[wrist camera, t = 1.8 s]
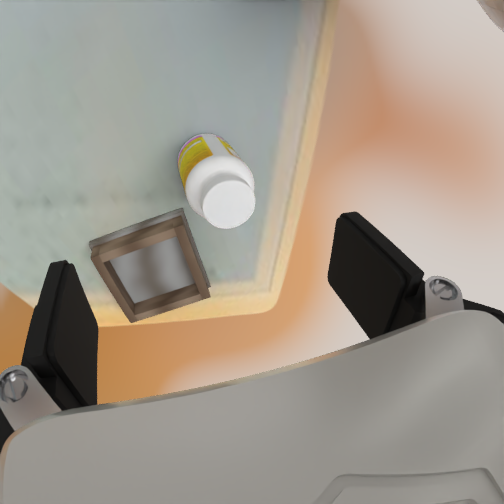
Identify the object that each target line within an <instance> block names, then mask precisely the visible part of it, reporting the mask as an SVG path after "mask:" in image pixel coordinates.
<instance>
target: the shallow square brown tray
mask: <svg viewBox="0 0 504 504" xmlns="http://www.w3.org/2000/svg"><path fill="white" fill-rule="evenodd" d="M89 247H90V249H91V250H92V254H91V260H92V262H93V263H94V265H95V267H96V269H97V270H98V272H99V274H100V275H101V277H102V279H103V280H104V282H105V284H106V285H107V287H108V288H109V290H110V292H111V293H112V295H113V296H114V298H115V300H116V301H117V303H118V304H119V306H120V307H121V309H122V310H123V312H124V314H125V315H126V317H127V318H128V320H129V321H130V323H133V322H136V321H139V320H142V319H145V318H148V317H152V316H155V315H158V314H161V313H164V312H167V311H170V310H173V309H176V308H179V307H182V306H185V305H188V304H191V303H194V302H197V301H200V300H203V299H206V298H209V297H210V293H209V290H208V288H209V287H211V286H210V283H209V280H208V278H207V275H206V272H205V270H204V267H203V264H202V261H201V259H200V256H199V253H198V251H197V248H196V245H195V242H194V239H193V237H192V234H191V231H190V228H189V225H188V223H187V220H186V217H185V214H184V211H183V208H181V209H178V210H175V211H172V212H169V213H166V214H163V215H160V216H157V217H155V218H152V219H149V220H146V221H143V222H141V223H138V224H135V225H132V226H130V227H127V228H124V229H121V230H119V231H116V232H113V233H111V234H108V235H106V236H103V237H100V238H98V239H95V240H93V241H90V243H89Z"/></svg>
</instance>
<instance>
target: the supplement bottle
mask: <svg viewBox="0 0 504 504" xmlns="http://www.w3.org/2000/svg"><path fill="white" fill-rule="evenodd" d="M178 169H179V173H180V176H181V180H182V183H183V187H184V190H185V194H186V197H187V200H188V203H189V205H190V206H191V208H192V209H193V210H194V211H195V212H196V213H197V214H199V215H200V216H202V217H204V218H206V220H207V221H208V222H209V223H210V224H212V225H213V226H215V227H218V228H222V229H230V228H234V227H237V226H239V225H241V224H243V223H244V222H246V221H247V220H248V219H249V217H250V216H251V215H252V213H253V211H254V208H255V195H254V186H255V185H254V178H253V175H252V172H251V171H250V169H249V167H248V166H247V165H246V164H245V163H244V161H243V160H242V159H241V158H240V157H239V156H238V154H237V153H236V152H235V151H234V150H233V148H232V147H231V146H230V145H229V144H228V143H227V142H226V141H225V140H224V139H223V138H221V137H219V136H217V135H214V134H200V135H196V136H194V137H192V138H191V139H189V140H188V141H187V142H186V143H185V144H184V145H183V146H182V148H181V150H180V152H179V155H178Z"/></svg>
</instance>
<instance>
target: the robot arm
mask: <svg viewBox="0 0 504 504" xmlns="http://www.w3.org/2000/svg"><path fill="white" fill-rule="evenodd" d="M477 1H478V2H479V4H480V5H481V7H482V8H483V9H484V11H485V12H486V14H487V15H488V16H489V17H490V19H491V20H492V21H493V22H494V23H495V24H496V25H497V26H498V27H499V28H500V29H501V30H502V31H503V32H504V0H477ZM423 276H424V272H423V271H422V270H421V269H420V268H419V267H418V266H417V265H416V264H415V263H414V262H412V261H411V260H410V259H409V258H408V257H407V256H406V255H405V254H404V253H403V252H402V251H401V250H400V249H398V248H397V247H396V246H395V245H394V244H393V243H392V242H391V241H390V240H389V239H387V238H386V237H385V236H384V235H383V234H382V233H381V232H380V231H379V230H377V229H376V228H375V227H374V226H373V225H372V224H371V223H369V222H368V221H367V220H366V219H365V218H364V217H362V216H361V215H360V214H359V213H357V212H349V213H343V214H341V215H340V218H338V219H337V221H336V227H335V233H334V240H333V246H332V253H331V258H330V264H329V271H328V282H329V284H330V286H331V287H332V288H333V290H334V291H335V292H336V294H337V295H338V296H339V298H340V299H341V300H342V302H343V303H344V304H345V306H346V307H347V308H348V310H349V311H350V312H351V314H352V315H353V317H354V318H355V319H356V320H357V322H358V323H359V325H360V326H361V328H362V329H363V330H364V332H365V333H366V334H367V336H368V337H369V338H370V340H367V341H364V342H361V343H358V344H356V345H353V346H350V347H347V348H344V349H341V350H338V351H335V352H331V353H328V354H325V355H322V356H319V357H315V358H313V359H309V360H306V361H302V362H299V363H296V364H292V365H288V366H285V367H281V368H278V369H274V370H270V371H267V372H263V373H259V374H255V375H252V376H247V377H243V378H239V379H235V380H230V381H226V382H222V383H218V384H213V385H209V386H204V387H199V388H195V389H189V390H184V391H179V392H174V393H168V394H163V395H157V396H151V397H145V398H139V399H133V400H127V401H120V402H114V403H106V404H99V405H97V350H98V325H97V321H96V319H95V317H94V314H93V312H92V310H91V307H90V305H89V303H88V300H87V298H86V295H85V293H84V290H83V288H82V285H81V283H80V280H79V277H78V275H77V272H76V269H75V267H74V265H73V264H72V263H71V264H69V263H68V262H67V261H66V260H63V261H58V262H53V263H51V264H50V266H49V269H48V272H47V275H46V278H45V281H44V284H43V288H42V291H41V294H40V298H39V301H38V305H36V306H35V309H34V312H33V315H32V319H31V323H30V327H29V331H28V335H27V339H26V344H25V348H24V353H23V357H22V362H21V365H16V366H12V367H9V368H8V369H6V370H4V371H3V372H2V373H1V374H0V504H504V313H503V312H502V311H500V310H497V309H495V308H491V307H488V306H485V305H482V304H478V303H475V302H471V301H468V300H465V299H462V293H461V290H460V289H459V287H458V286H457V285H456V284H455V283H454V282H452V281H451V280H449V279H447V278H444V277H440V276H433V277H430V278H428V279H427V280H426V282H425V281H423V280H422V278H423Z"/></svg>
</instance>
